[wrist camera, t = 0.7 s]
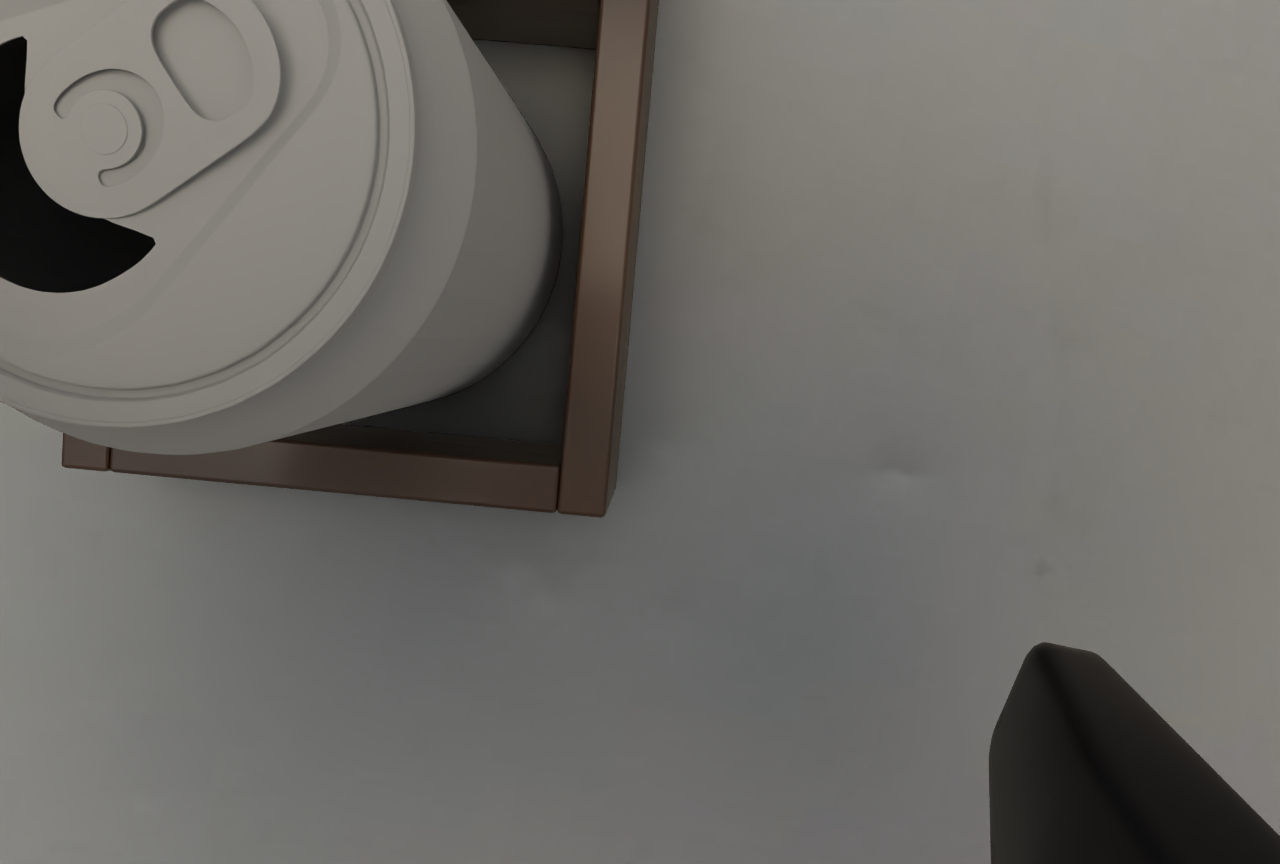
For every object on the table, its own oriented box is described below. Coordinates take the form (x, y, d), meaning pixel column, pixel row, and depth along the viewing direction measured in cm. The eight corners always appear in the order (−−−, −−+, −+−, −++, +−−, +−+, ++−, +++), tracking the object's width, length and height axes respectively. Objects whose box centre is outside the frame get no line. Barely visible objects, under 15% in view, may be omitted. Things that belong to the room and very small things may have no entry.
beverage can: (166, 180, 23) (-379, 11, 11) (451, -5, 23) (202, -387, 11) (349, 465, 23) (8, 599, 11) (633, 287, 23) (585, 233, 11)
